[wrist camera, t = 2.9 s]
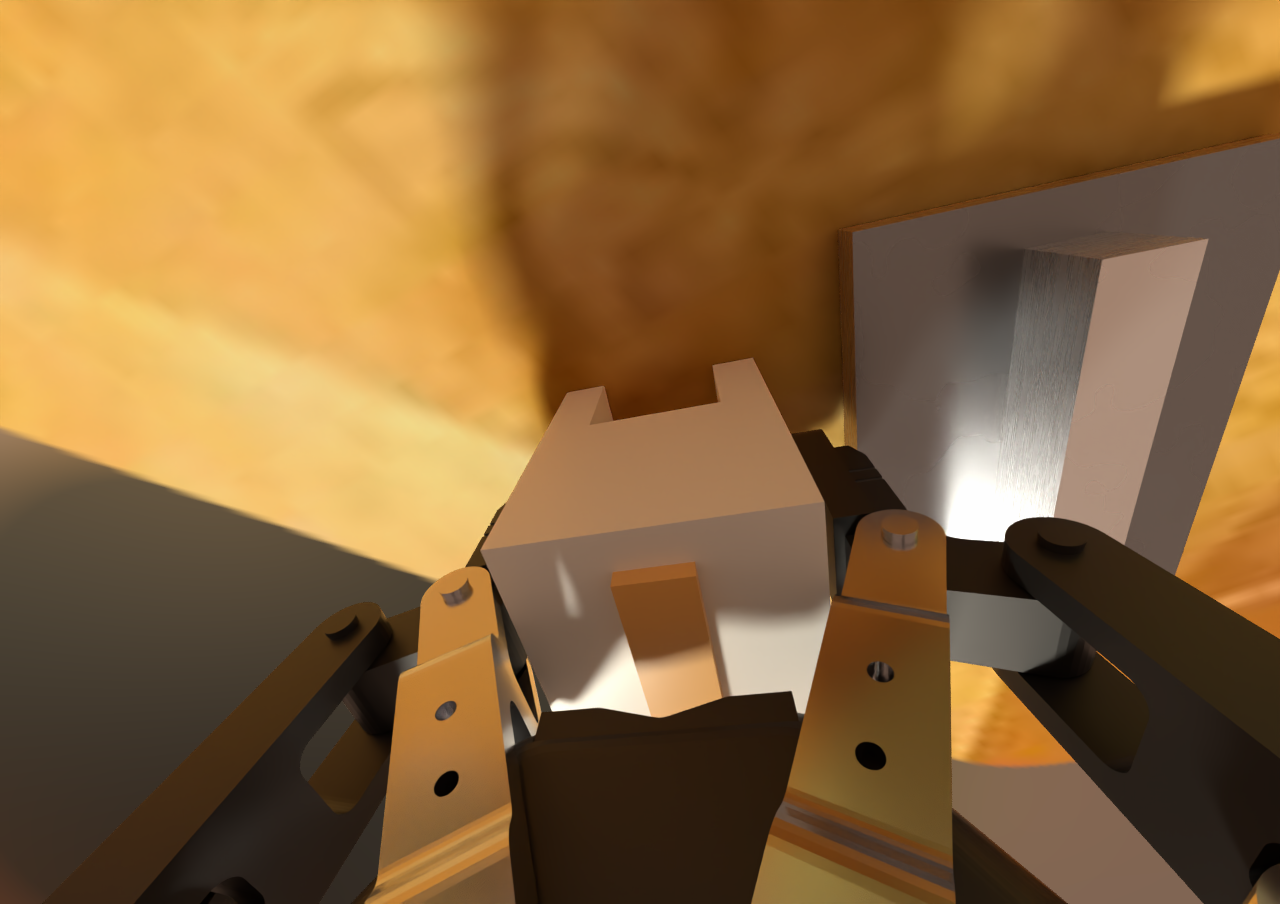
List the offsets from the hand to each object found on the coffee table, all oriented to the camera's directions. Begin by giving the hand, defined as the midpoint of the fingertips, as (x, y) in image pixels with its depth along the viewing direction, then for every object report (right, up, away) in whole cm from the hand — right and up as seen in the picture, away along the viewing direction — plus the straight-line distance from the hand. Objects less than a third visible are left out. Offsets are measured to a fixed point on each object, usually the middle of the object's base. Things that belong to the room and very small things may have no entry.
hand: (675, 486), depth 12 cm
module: (0, +1, +1) cm, 1 cm away
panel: (+9, +1, 0) cm, 9 cm away
